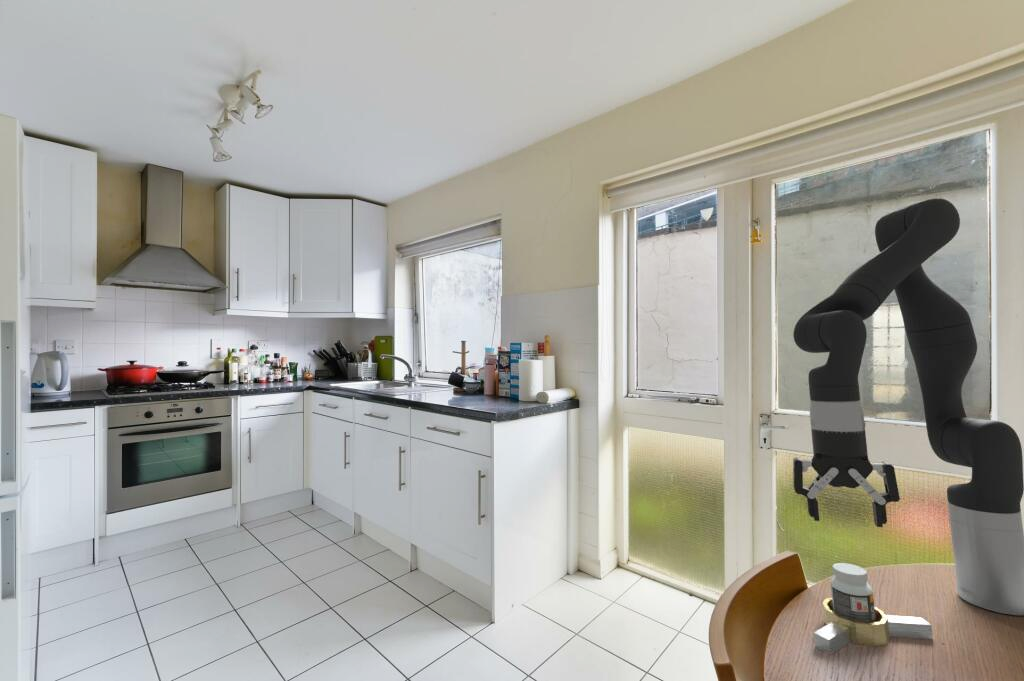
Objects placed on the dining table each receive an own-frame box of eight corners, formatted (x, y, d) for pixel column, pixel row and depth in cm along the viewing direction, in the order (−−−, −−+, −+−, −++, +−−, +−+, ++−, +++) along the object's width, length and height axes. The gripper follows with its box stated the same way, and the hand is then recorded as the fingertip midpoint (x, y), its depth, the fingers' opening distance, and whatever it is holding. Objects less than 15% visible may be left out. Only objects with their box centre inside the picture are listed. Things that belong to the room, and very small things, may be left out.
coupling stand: (882, 609, 78) (881, 591, 78) (936, 638, 70) (934, 617, 70) (782, 623, 75) (781, 604, 76) (826, 655, 67) (824, 633, 67)
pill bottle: (885, 641, 69) (879, 577, 70) (845, 638, 71) (839, 575, 71) (864, 621, 75) (859, 562, 76) (827, 618, 76) (822, 560, 77)
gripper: (884, 424, 75) (894, 520, 74) (787, 423, 82) (794, 511, 81) (897, 430, 68) (908, 536, 67) (790, 428, 75) (798, 524, 74)
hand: (846, 522), depth 74 cm, fingers open, 8 cm apart
